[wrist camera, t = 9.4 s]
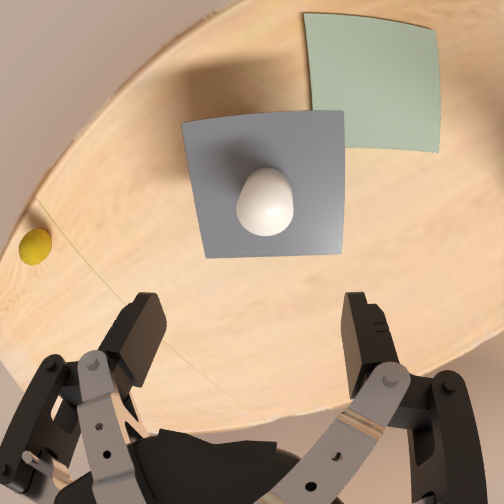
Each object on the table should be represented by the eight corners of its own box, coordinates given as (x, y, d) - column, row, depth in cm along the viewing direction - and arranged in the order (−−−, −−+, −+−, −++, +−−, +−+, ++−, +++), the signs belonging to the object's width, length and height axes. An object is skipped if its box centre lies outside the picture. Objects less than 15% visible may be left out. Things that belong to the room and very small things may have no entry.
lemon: (63, 237, 41) (36, 263, 34) (53, 253, 43) (28, 278, 36) (44, 214, 39) (14, 237, 32) (35, 232, 41) (8, 255, 34)
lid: (341, 110, 20) (357, 115, 16) (339, 248, 27) (349, 282, 22) (185, 121, 22) (160, 130, 17) (208, 253, 29) (194, 286, 24)
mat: (433, 31, 20) (435, 30, 20) (436, 152, 28) (438, 153, 28) (303, 14, 22) (303, 13, 22) (314, 146, 30) (314, 147, 30)
